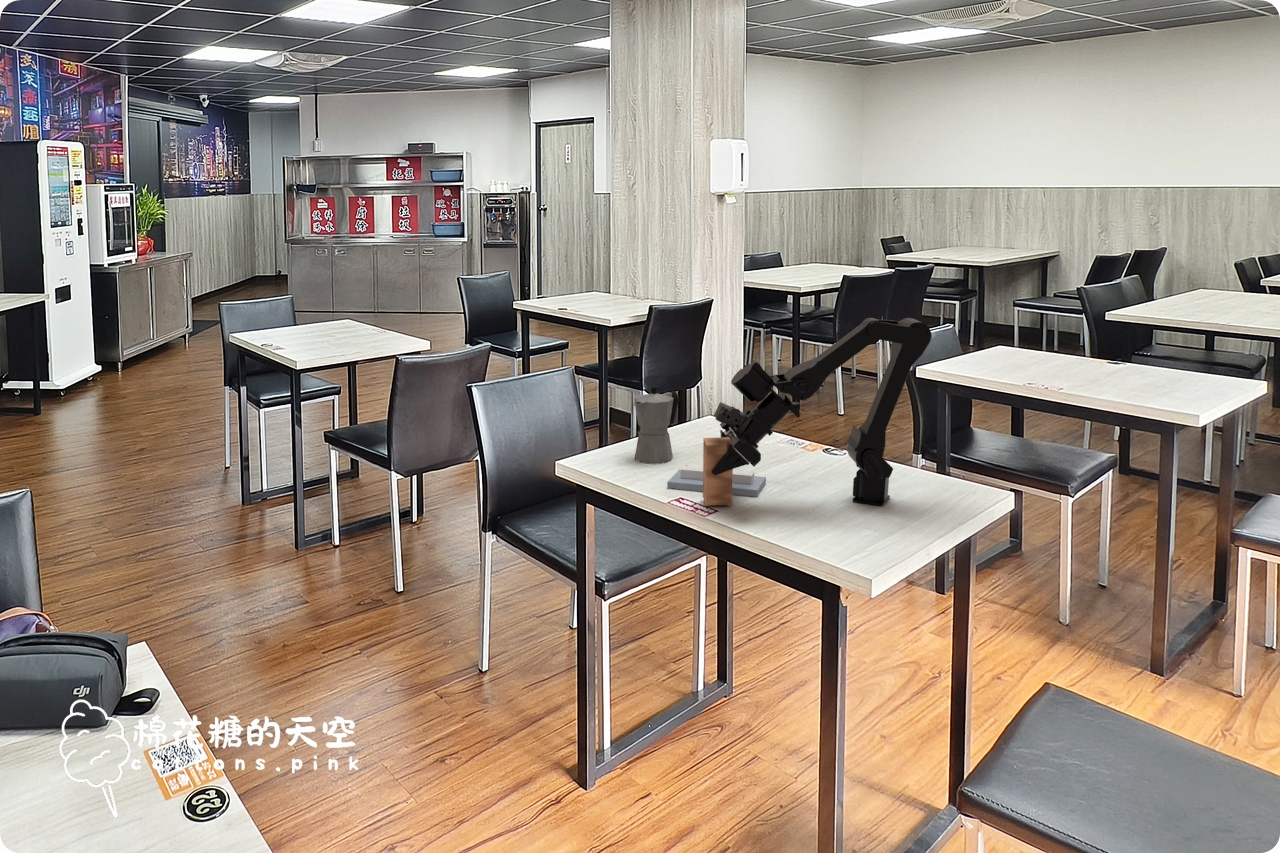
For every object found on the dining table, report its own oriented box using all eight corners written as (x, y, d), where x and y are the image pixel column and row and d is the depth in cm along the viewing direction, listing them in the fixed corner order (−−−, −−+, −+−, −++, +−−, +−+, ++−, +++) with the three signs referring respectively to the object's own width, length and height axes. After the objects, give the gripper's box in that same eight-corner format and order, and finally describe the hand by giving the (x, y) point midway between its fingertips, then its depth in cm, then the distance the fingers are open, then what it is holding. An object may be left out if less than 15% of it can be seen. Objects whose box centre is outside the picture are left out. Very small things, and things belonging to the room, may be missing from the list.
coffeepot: (649, 468, 237) (649, 393, 232) (620, 460, 243) (620, 387, 239) (692, 455, 248) (693, 383, 243) (663, 448, 254) (663, 378, 250)
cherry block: (728, 495, 214) (729, 437, 211) (731, 504, 209) (733, 444, 205) (702, 496, 214) (703, 437, 210) (706, 505, 209) (706, 445, 205)
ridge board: (765, 483, 225) (766, 468, 224) (756, 496, 216) (757, 481, 215) (679, 475, 231) (679, 460, 230) (667, 488, 222) (667, 473, 221)
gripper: (730, 381, 215) (678, 432, 217) (746, 400, 197) (689, 456, 199) (766, 416, 217) (714, 466, 219) (784, 438, 199) (728, 493, 201)
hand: (711, 469), depth 209 cm, fingers closed on cherry block, 5 cm apart
